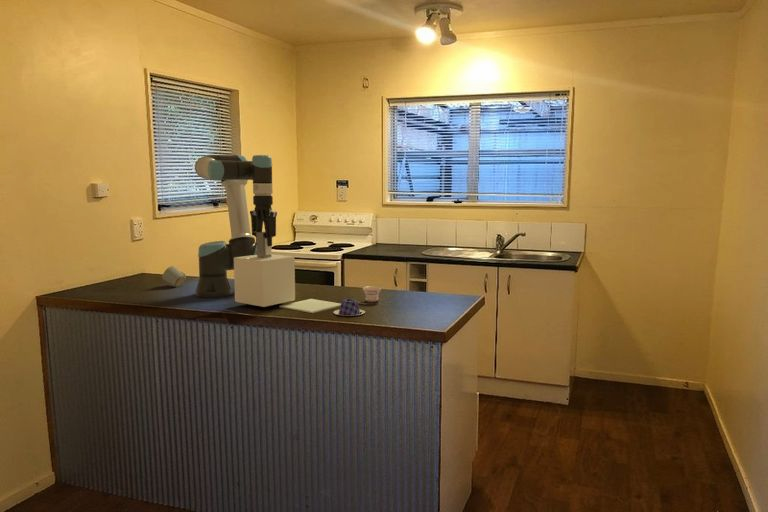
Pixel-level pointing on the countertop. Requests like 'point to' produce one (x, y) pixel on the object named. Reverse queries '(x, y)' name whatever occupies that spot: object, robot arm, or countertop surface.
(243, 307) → the countertop surface
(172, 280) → the ceramic mug
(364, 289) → the teacup
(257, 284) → the cover
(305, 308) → the mat
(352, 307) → the pudding
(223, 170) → the robot arm
